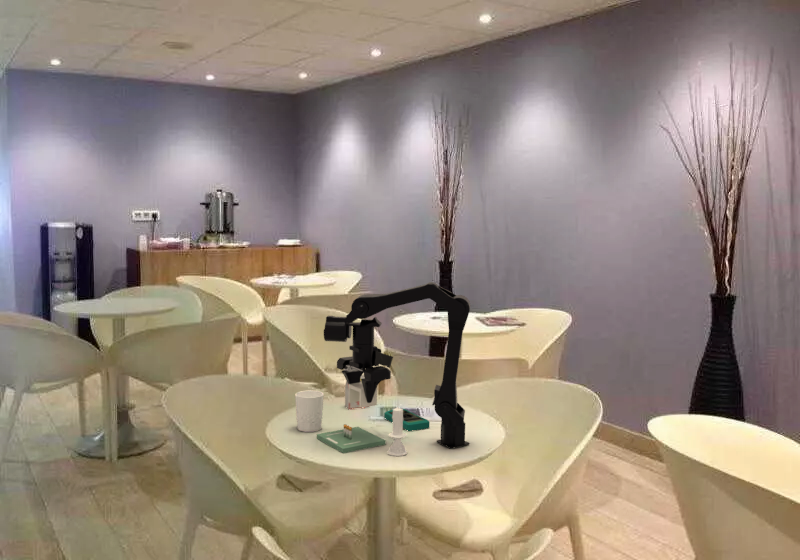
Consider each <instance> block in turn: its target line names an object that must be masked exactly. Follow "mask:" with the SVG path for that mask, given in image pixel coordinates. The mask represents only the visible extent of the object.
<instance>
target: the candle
mask: <svg viewBox="0 0 800 560" xmlns="http://www.w3.org/2000/svg"><path fill="white" fill-rule="evenodd" d="M403 409H404V408H400V407H395V408H393V409H392V410H393V416H392V419H393V423H392V431H391V432H389V433H388V437H390V438H392V439H393V441H392V444H391V445H390V446H389V449H388V450H387V451H386V453H387V455H388V456H393V457H402V456H406V455H407V454H408V452H409V451H407V450H406V447H405V445H404V444H403V441H402V439H403V438H405V437H407V436H408V434H407V433H406V432H403V430H404V429H403Z"/></svg>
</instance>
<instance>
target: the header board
mask: <svg viewBox="0 0 800 560" xmlns="http://www.w3.org/2000/svg"><path fill="white" fill-rule="evenodd" d="M316 439H317V440H318V441H321V442H322V443H324V444H325V445H327V446H329V447H331V448H333V449H334V450H336V451H338V452H340V453H341V454H346V453H351V452H356V451H362V450H366V449H371V448H375V447H381V446H386V443H387V442H386V441H387V440H386V439H384V438H382V437H380V436H378V435H376V434H374V433H372V432H370V431H368V430H365V429H364V428H362V427H359V426H353V427H352V439H351V440H349V438H346V437H344V428H343V429H338V430H333V431H327V432H323V433H322V432H321V433H317V434H316Z"/></svg>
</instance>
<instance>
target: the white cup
mask: <svg viewBox="0 0 800 560" xmlns="http://www.w3.org/2000/svg"><path fill="white" fill-rule="evenodd" d="M294 395H295V412H296V413H295V415H296V423H297V426H296V427H297V430H298V431H300V432H305V433H314V432H319V431H320V430H322V424H323V423H322V421H323V412H324V411H323V410H324V397H325V395H324V392H322V391H319V390H312V389H311V390H310V389H309V390H301V391H297V392H296V393H295V394H294Z"/></svg>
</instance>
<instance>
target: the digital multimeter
mask: <svg viewBox="0 0 800 560" xmlns="http://www.w3.org/2000/svg"><path fill="white" fill-rule="evenodd" d="M402 409H403V428H404V429H403V430H405V429H406V430H408V431H407V432H413V431H412V430H416V431H420V430H421V429H422V430H426V428H427V429H429V428H430V422H431V421H429V420H428V419H426V418H424V417H422V416H419V415H418V414H415V413H414V412H412V411H409V410H407V409H406V408H402ZM383 415H384V416H383V417H384V418H386V419H387V420H386V419H385V420H386V421H388V420H389V421H388V422H390V423H392V422H393V419H392V416H393V409H389V410H387V411H385V412H384V414H383ZM384 418H383V419H384ZM406 430H405V431H406ZM422 430H421V431H422Z"/></svg>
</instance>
